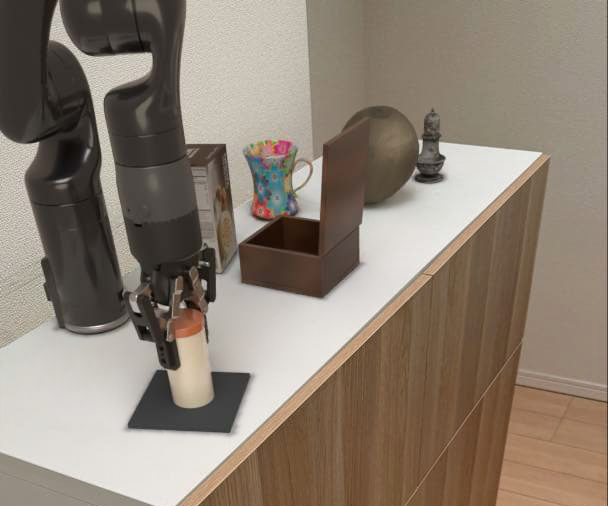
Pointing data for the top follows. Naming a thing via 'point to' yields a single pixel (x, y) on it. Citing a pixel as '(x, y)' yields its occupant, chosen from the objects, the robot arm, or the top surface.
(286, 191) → the mug
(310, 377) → the top surface
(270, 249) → the chest
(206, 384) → the canister
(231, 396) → the mat
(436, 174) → the salt shaker
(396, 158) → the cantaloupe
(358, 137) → the lid
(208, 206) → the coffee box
